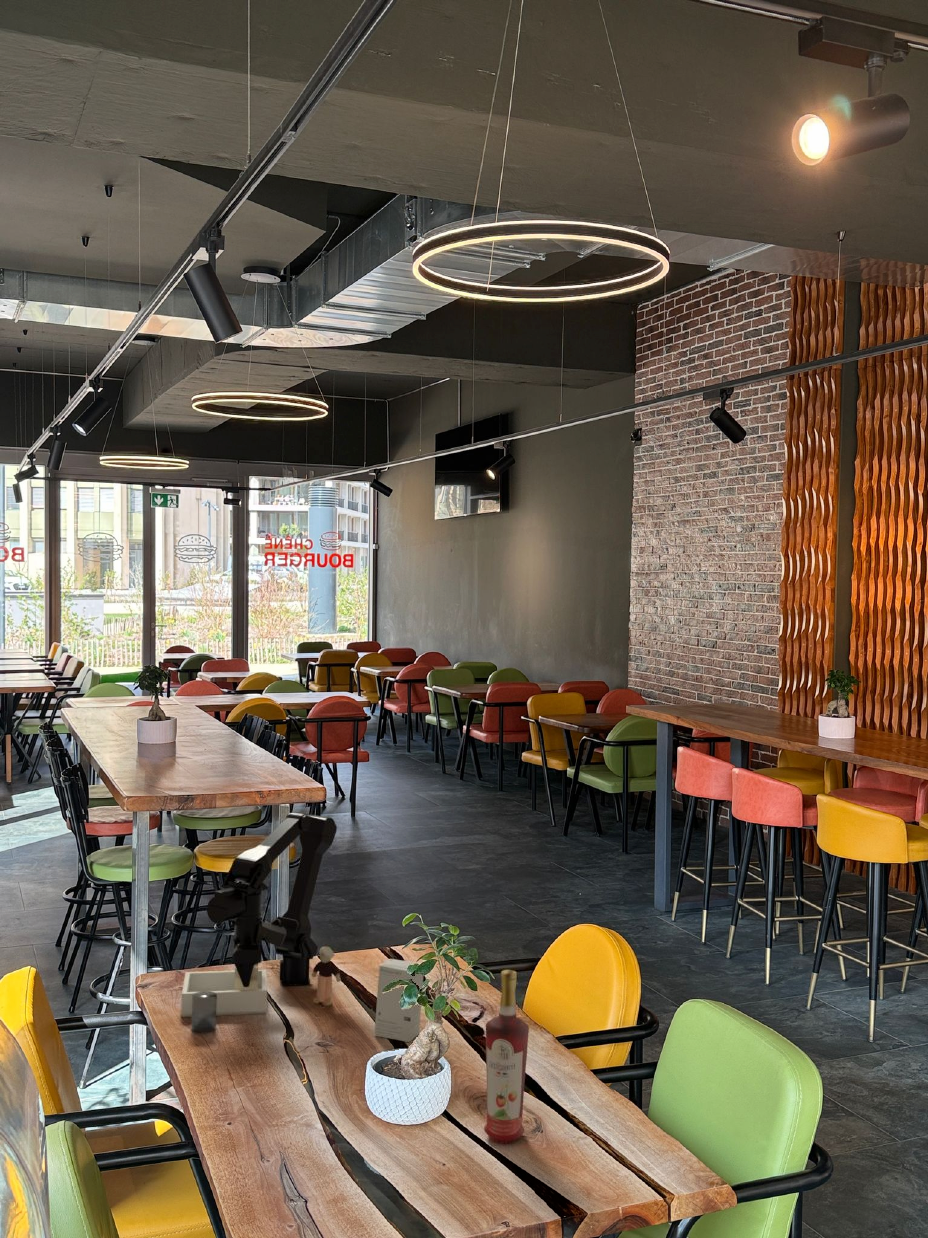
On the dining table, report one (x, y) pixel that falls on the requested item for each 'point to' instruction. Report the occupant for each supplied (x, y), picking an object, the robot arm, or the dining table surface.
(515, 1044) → the liquor
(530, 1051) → the dining table surface
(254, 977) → the wood cube
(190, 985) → the tote
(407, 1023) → the skincare box
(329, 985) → the grandmother figurine
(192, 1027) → the metal cylinder
